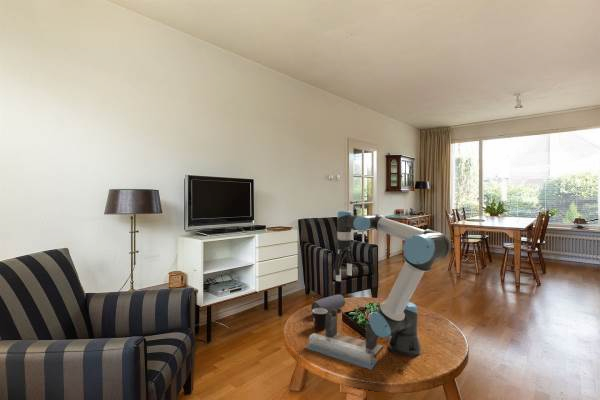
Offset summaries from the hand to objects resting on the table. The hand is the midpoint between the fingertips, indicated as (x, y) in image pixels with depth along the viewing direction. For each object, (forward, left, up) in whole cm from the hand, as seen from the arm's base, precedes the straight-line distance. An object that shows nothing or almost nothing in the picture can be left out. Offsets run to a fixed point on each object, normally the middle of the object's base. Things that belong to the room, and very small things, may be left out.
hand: (344, 278), depth 168 cm
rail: (-8, +21, -30) cm, 38 cm away
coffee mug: (+15, 0, -31) cm, 34 cm away
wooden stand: (-8, +9, -31) cm, 33 cm away
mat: (-8, +21, -31) cm, 38 cm away
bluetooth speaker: (+22, -22, -31) cm, 44 cm away
